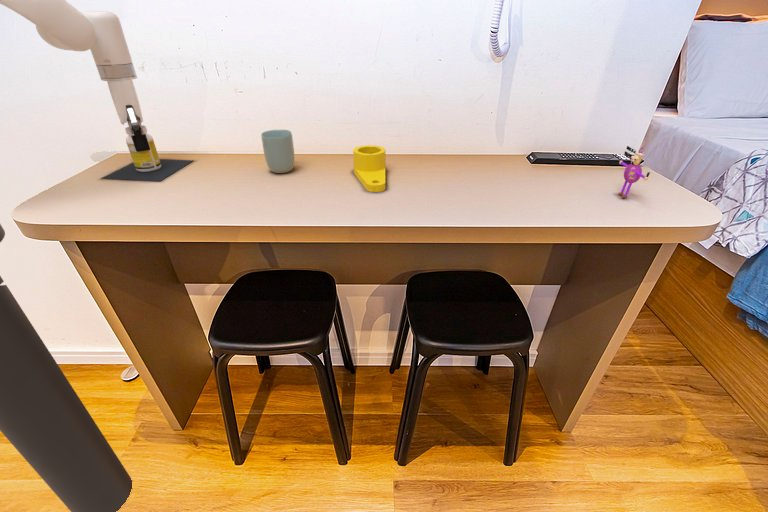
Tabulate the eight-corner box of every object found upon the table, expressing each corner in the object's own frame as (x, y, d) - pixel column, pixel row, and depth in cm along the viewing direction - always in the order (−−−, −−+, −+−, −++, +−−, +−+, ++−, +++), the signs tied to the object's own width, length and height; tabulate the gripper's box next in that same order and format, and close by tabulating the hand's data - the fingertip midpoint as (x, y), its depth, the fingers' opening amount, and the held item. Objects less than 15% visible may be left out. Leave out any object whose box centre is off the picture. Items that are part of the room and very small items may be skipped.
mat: (101, 178, 99) (101, 178, 99) (141, 159, 112) (141, 158, 112) (160, 181, 97) (159, 180, 97) (193, 161, 111) (193, 160, 111)
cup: (294, 164, 108) (290, 128, 103) (298, 174, 102) (293, 136, 97) (266, 167, 106) (260, 130, 101) (268, 177, 100) (261, 138, 95)
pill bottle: (152, 163, 108) (139, 123, 102) (167, 167, 106) (154, 126, 100) (131, 170, 103) (116, 128, 98) (146, 174, 101) (131, 131, 95)
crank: (352, 167, 106) (351, 146, 103) (382, 166, 107) (382, 144, 104) (359, 193, 91) (358, 168, 88) (394, 191, 92) (394, 166, 89)
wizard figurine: (605, 187, 95) (622, 138, 88) (618, 187, 95) (636, 138, 88) (630, 207, 85) (650, 153, 79) (644, 207, 85) (666, 153, 79)
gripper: (98, 69, 96) (123, 141, 106) (99, 77, 84) (128, 158, 94) (132, 67, 100) (154, 137, 109) (138, 75, 88) (162, 153, 97)
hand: (141, 146), depth 101 cm, fingers closed on pill bottle, 6 cm apart
